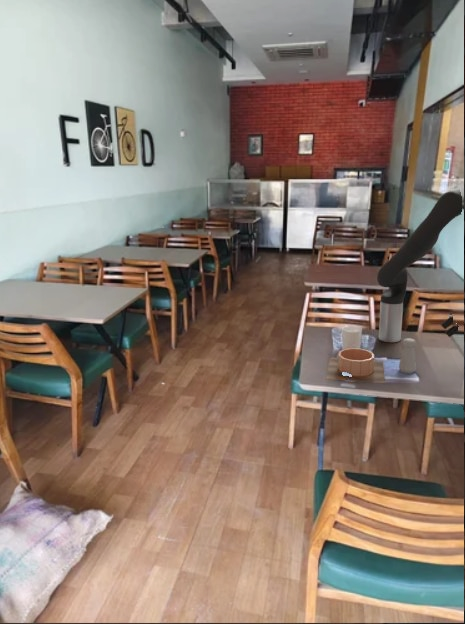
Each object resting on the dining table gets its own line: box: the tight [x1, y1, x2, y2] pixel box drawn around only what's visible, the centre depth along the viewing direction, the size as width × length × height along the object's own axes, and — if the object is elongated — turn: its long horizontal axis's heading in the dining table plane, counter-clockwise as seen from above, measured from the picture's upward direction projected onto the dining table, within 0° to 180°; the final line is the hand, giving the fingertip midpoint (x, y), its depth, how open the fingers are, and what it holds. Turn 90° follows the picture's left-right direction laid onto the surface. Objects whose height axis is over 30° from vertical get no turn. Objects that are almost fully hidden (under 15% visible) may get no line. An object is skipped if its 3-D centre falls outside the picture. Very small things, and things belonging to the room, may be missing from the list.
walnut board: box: [325, 357, 386, 385], centre depth 159 cm, size 20×20×1 cm
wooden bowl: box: [337, 348, 375, 377], centre depth 158 cm, size 13×13×6 cm
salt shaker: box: [398, 337, 417, 375], centre depth 154 cm, size 6×6×13 cm
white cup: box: [341, 325, 363, 350], centre depth 177 cm, size 8×8×10 cm
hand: (444, 330), depth 148 cm, fingers open, 8 cm apart
